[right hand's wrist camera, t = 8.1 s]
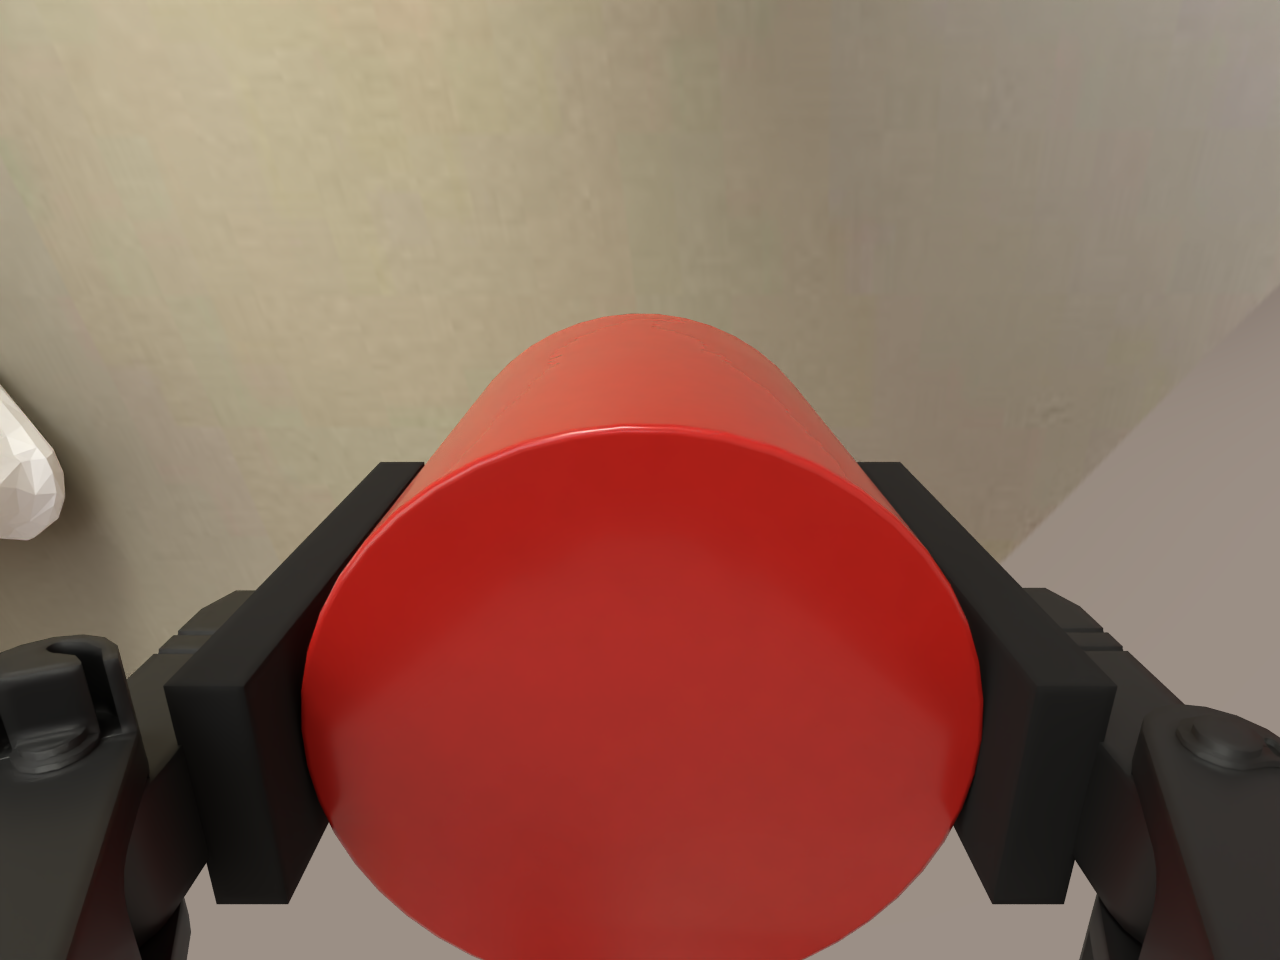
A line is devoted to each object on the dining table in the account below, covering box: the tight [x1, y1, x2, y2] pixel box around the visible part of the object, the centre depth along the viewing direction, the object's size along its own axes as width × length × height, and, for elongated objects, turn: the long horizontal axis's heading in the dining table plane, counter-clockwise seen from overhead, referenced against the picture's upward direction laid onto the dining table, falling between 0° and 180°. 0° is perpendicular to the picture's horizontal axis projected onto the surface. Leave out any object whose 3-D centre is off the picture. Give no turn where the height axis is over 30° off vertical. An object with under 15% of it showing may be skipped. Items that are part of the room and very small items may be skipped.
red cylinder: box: [301, 314, 983, 960], centre depth 12 cm, size 7×7×7 cm
